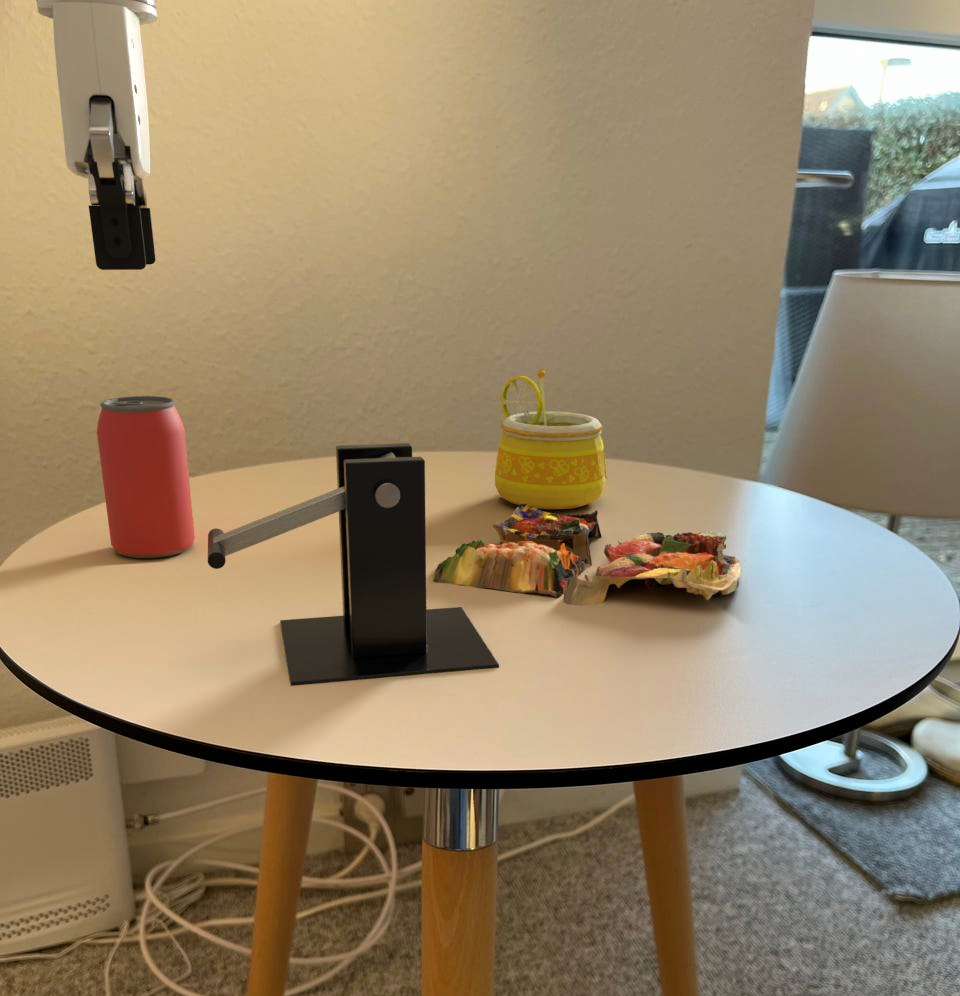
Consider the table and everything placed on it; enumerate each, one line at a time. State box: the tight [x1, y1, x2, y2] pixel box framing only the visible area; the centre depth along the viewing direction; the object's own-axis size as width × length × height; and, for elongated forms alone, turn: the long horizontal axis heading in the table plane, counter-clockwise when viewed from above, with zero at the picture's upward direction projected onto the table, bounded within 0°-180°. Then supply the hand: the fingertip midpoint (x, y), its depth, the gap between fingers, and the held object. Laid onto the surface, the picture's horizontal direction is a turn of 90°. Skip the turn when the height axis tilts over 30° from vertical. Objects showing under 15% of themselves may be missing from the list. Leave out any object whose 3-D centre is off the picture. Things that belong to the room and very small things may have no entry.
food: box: [432, 504, 742, 606], centre depth 77 cm, size 22×19×4 cm
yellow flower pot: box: [494, 368, 608, 511], centre depth 99 cm, size 13×11×12 cm
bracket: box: [279, 442, 500, 687], centre depth 60 cm, size 12×10×13 cm
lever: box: [207, 452, 396, 570], centre depth 58 cm, size 12×5×2 cm, turn 104°
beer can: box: [96, 395, 196, 560], centre depth 81 cm, size 7×7×12 cm
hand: (128, 266), depth 74 cm, fingers open, 9 cm apart
